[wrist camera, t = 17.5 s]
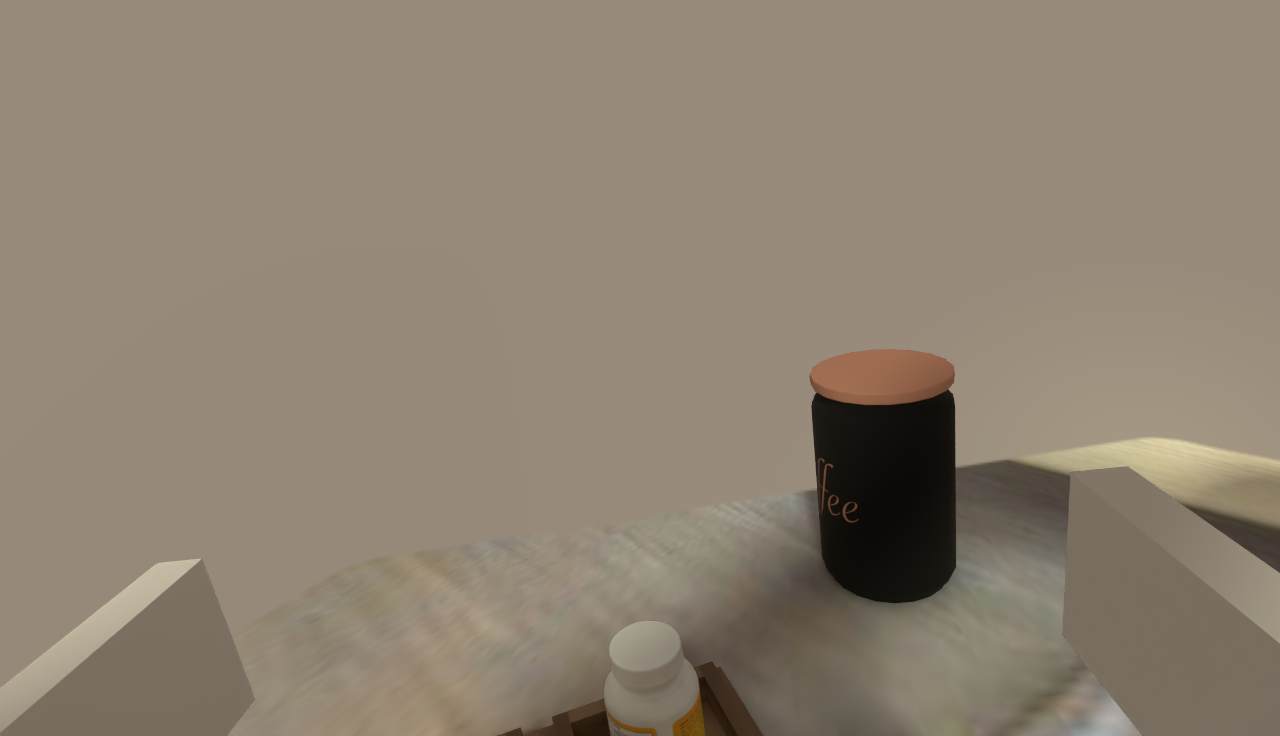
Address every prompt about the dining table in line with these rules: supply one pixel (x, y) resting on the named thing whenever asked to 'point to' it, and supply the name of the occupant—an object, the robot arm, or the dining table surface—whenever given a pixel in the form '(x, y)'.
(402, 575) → the dining table surface
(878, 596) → the coffee jar
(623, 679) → the supplement bottle
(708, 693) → the walnut rack
